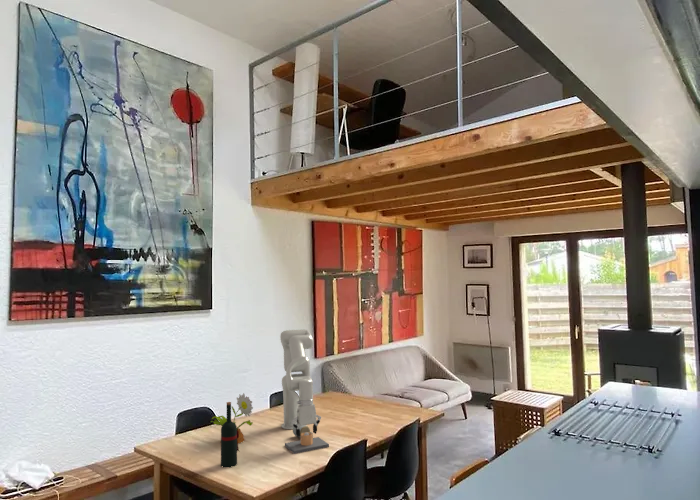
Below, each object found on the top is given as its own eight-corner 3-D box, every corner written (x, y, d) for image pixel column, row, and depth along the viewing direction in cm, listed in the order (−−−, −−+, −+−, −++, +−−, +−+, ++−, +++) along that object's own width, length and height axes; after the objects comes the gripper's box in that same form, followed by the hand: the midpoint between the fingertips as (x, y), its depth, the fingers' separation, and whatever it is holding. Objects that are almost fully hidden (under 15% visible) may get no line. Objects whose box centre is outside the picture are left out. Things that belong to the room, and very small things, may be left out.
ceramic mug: (300, 440, 270) (300, 426, 271) (292, 437, 276) (292, 423, 277) (315, 436, 277) (315, 423, 277) (307, 433, 283) (307, 420, 284)
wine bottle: (244, 462, 239) (243, 400, 241) (228, 468, 230) (228, 405, 232) (233, 459, 243) (232, 398, 245) (217, 465, 235) (217, 403, 237)
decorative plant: (262, 439, 274) (261, 394, 276) (230, 451, 254) (230, 403, 256) (229, 431, 289) (229, 389, 290) (196, 443, 269) (196, 397, 270)
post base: (284, 446, 261) (284, 432, 262) (318, 439, 271) (318, 426, 271) (294, 453, 249) (293, 439, 249) (329, 447, 258) (328, 432, 259)
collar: (299, 443, 261) (299, 433, 261) (309, 441, 264) (309, 431, 264) (303, 446, 256) (303, 436, 256) (314, 444, 259) (313, 434, 259)
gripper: (293, 406, 254) (294, 439, 253) (323, 401, 262) (324, 433, 261) (288, 403, 261) (289, 435, 259) (317, 398, 269) (318, 430, 267)
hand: (306, 434), depth 260 cm, fingers open, 9 cm apart
